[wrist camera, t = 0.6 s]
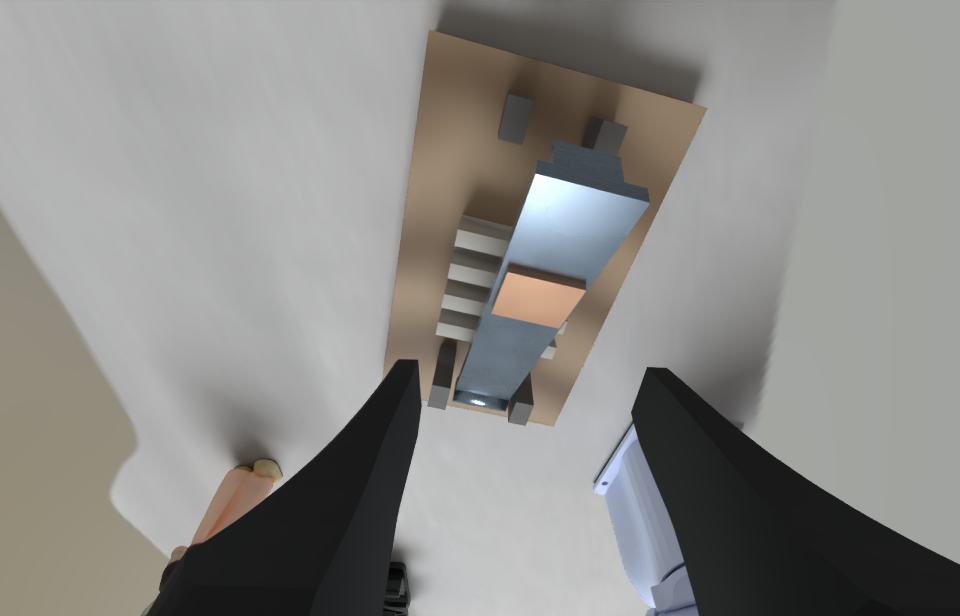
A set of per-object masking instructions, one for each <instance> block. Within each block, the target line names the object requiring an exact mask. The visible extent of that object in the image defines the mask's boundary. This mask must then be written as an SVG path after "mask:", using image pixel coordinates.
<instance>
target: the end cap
mask: <svg viewBox="0 0 960 616" xmlns="http://www.w3.org/2000/svg"><path fill="white" fill-rule="evenodd" d="M409 606H410V595H409V588H408V581H407V573H406V566H405V564H403V563H400V562H390V566H389V573H388V580H387V586H386V593H385V600H384V607H383V614H382V616H408V607H409Z"/></svg>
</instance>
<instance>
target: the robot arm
mask: <svg viewBox="0 0 960 616" xmlns="http://www.w3.org/2000/svg"><path fill="white" fill-rule="evenodd" d="M421 407H422V404H421V390H420V377H419V363H418V360H415V359H398V360H397V361H396V362H395V363H394V365H393V366H392V368H391V369H390V371H389V372H388V374H387V375H386V377H385V378H384V379H383V381H382V382H381V383H380V385H379V386H378V388H377V389H376V390H375V391H374V393H373V394H372V395H371V396H370V398H369V399H368V400H367V402H366V403H365V404H364V405H363V407H362V408H361V409H360V410H359V411H358V412H357V414H356V415H355V416H354V417H353V418H352V419H351V420H350V421H349V423H348V424H347V425H346V426H345V427H344V428H343V429H342V430H341V432H340V433H339V434H338V435H337V436H336V437H335V438H334V439H333V440H332V441H331V442H330V443H329V444H328V445H327V446H326V447H325V448H324V449H323V450H322V451H321V452H320V453H319V454H318V455H317V456H315V457H314V458H313V459H312V460H311V461H310V462H309V463H308V464H307V465H305V466H304V467H303V468H302V469H301V470H300V471H299V472H298V473H296V474H295V475H294V476H293V477H292V478H291V479H289V480H288V481H287V482H286V483H285V484H283V485H282V486H281V487H280V488H278V489H277V490H276V491H275V492H273V493H272V494H271V495H269V496H268V497H267V498H265V499H264V500H263V501H262V502H260V503H259V504H258V505H256V506H255V507H254V508H252V509H251V510H250V511H248V512H247V513H246V514H244V515H243V516H242V517H240V518H239V519H237V520H236V521H235V522H233V523H232V524H230V525H229V526H227V527H226V528H224V529H223V530H221V531H220V532H218V533H217V534H215V535H214V536H212V537H211V538H209V539H208V540H206V541H205V542H203V543H202V544H200V545H199V546H197V547H196V548H194V549H193V550H191V551H189V552H188V553H186V555H185V556H184V558H183V559H182V560H181V562H180V563H179V565H178V566H177V567H176V569H175V570H174V571H173V573H172V574H171V576H170V577H169V579H168V580H167V582H166V583H165V585H164V587H163V588H162V590H161V591H160V593H159V595H158V596H157V598H156V600H155V601H154V603H153V604H152V606H151V608H150V609H149V611H148V613H147V614H146V616H382V614H383V607H384V600H385V593H386V586H387V580H388V573H389V566H390V560H391V553H392V547H393V541H394V534H395V528H396V522H397V517H398V512H399V507H400V503H401V499H402V495H403V491H404V487H405V483H406V479H407V476H408V472H409V468H410V464H411V460H412V456H413V452H414V448H415V444H416V440H417V436H418V429H419V422H420V414H421ZM631 414H632V418H633V422H634V423H633V425H632V426H631V428H630V429H629V431H628V432H627V434H626V436H625V437H624V439H623V440H622V442H621V443H620V445H619V447H618V448H617V450H616V451H615V453H614V454H613V456H612V457H611V459H610V461H609V462H608V464H607V465H606V467H605V468H604V470H603V472H602V473H601V475H600V476H599V478H598V479H597V481H596V483H595V484H594V486H593V490H594V492H595V493H596V494H600V495H605V498H606V502H607V506H608V510H609V514H610V518H611V522H612V525H613V529H614V533H615V537H616V541H617V545H618V548H619V552H620V556H621V560H622V564H623V567H624V570H625V573H626V575H627V577H628V579H629V581H630V583H631V584H632V586H633V588H634V589H635V591H636V592H637V593H638V595H639V596H640V597H641V598H642V599H643V601H644V602H645V603H646V604H648V605H649V606H650V607H651V609H649V610H648V611H647V613H646V615H645V616H960V564H958V563H955V562H953V561H952V560H950V559H947V558H945V557H943V556H941V555H939V554H937V553H935V552H933V551H931V550H929V549H927V548H925V547H923V546H921V545H919V544H917V543H915V542H914V541H912V540H910V539H908V538H906V537H904V536H902V535H901V534H899V533H897V532H895V531H893V530H892V529H890V528H888V527H886V526H884V525H882V524H881V523H879V522H877V521H875V520H873V519H872V518H870V517H868V516H866V515H865V514H863V513H861V512H860V511H858V510H856V509H854V508H852V507H851V506H849V505H848V504H846V503H844V502H843V501H841V500H839V499H838V498H836V497H835V496H833V495H831V494H830V493H828V492H826V491H825V490H823V489H821V488H820V487H818V486H817V485H815V484H814V483H812V482H811V481H809V480H807V479H806V478H804V477H803V476H802V475H800V474H799V473H797V472H796V471H794V470H793V469H791V468H790V467H789V466H787V465H785V464H784V463H783V462H781V461H780V460H778V459H776V458H775V457H774V456H773V455H771V454H770V453H768V452H767V451H766V450H765V449H763V448H762V447H761V446H759V445H758V444H757V443H756V442H754V441H753V440H752V439H750V438H749V437H748V436H747V435H745V434H744V433H743V432H742V431H741V430H739V429H738V428H736V427H735V426H734V425H733V424H732V423H730V422H729V421H728V420H727V419H726V418H724V417H723V416H722V415H721V414H720V413H718V412H717V411H716V410H715V409H714V408H713V407H711V406H710V405H709V404H708V403H707V402H706V401H704V400H703V399H702V398H701V397H700V396H699V395H698V394H697V393H695V392H694V391H693V390H692V389H691V388H690V387H689V386H687V385H686V384H685V383H684V382H683V381H682V380H681V379H679V378H678V377H677V376H676V375H675V374H674V373H672V372H671V371H670V370H669V369H667V368H655V367H647V369H646V372H645V375H644V378H643V381H642V383H641V386H640V389H639V392H638V395H637V397H636V400H635V403H634V406H633V409H632V411H631Z"/></svg>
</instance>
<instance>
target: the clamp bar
mask: <svg viewBox="0 0 960 616" xmlns="http://www.w3.org/2000/svg"><path fill="white" fill-rule="evenodd" d="M649 205H650V198H649V193H648V188H644V187H641V186H637V185H633V184H629V183H625V182H624V176H623V169H622V163H621V157H618V156H614V155H611V154H607V153H603V152H599V151H596V150H592V149H588V148H584V147H580V146H577V145H573V144H569V143H565V142H562V141H558V140H554V141H553V143H552V146H551V148H550V151H549V154H548V156H547V159H546V161H545V162H544V161H541V160H537V161H536V163H535V166H534V169H533V172H532V174H531V177H530V180H529V183H528V186H527V188H526V191H525V194H524V197H523V199H522V202H521V205H520V208H519V210H518V213H517V216H516V219H515V222H514V224H513V227H512V230H511V233H510V235H509V238H508V241H507V244H506V246H505V249H504V252H503V255H502V258H501V260H500V263H499V266H498V269H497V271H496V274H495V277H494V280H493V282H492V285H491V288H490V291H489V294H488V296H487V299H486V302H485V305H484V307H483V310H482V313H481V316H480V318H479V321H478V324H477V327H476V329H475V332H474V335H473V338H472V341H471V343H470V346H469V349H468V352H467V354H466V357H465V360H464V363H463V365H462V368H461V371H460V374H459V377H457V379H456V383H455V387H454V392H453V398H452V402H457V403H462V404H467V405H472V406H477V407H482V408H486V409H491V410H496V411H501V412H505V411H506V409H507V407H508V403H509V400H510V398H511V397H512V396H513V394H514V393H515V391H516V390H517V389H518V387H519V386H520V384H521V383H522V382H523V380H524V379H525V377H526V376H527V375H528V373H529V372H530V370H531V369H532V368H533V366H534V365H535V364H536V362H537V361H538V359H539V358H540V357H541V355H542V354H543V352H544V351H545V350H546V348H547V347H548V345H549V344H550V343H551V341H552V340H553V338H554V337H555V336H556V334H557V333H558V331H559V330H560V329H561V327H562V326H563V324H564V323H565V322H566V320H567V319H568V317H569V316H570V315H571V313H572V312H573V311H574V309H575V308H576V306H577V305H578V304H579V302H580V301H581V299H582V298H583V297H584V295H585V294H586V292H587V291H588V290H589V288H590V287H591V285H592V284H593V283H594V281H595V280H596V278H597V277H598V276H599V274H600V273H601V271H602V270H603V269H604V267H605V266H606V265H607V263H608V262H609V260H610V259H611V258H612V256H613V255H614V253H615V252H616V251H617V249H618V248H619V246H620V245H621V244H622V242H623V241H624V239H625V238H626V237H627V235H628V234H629V232H630V231H631V230H632V228H633V227H634V225H635V224H636V223H637V221H638V220H639V218H640V217H641V216H642V214H643V213H644V212H645V210H646V209H647V207H648V206H649Z"/></svg>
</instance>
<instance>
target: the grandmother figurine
mask: <svg viewBox="0 0 960 616" xmlns="http://www.w3.org/2000/svg"><path fill="white" fill-rule="evenodd" d="M281 478H282V474H281V472H280V469H279V467H278V465H277V464H276V463H275V462H273V461H271V460H267V459H261V460H257V461H256V462H255V464H254V471H253V470H252V469H251V468H248V467H245V466H239V467H236V468H234V469H233V470H230V471H228V473H227V474H226V476H225V478H224V479H223V481H222V482H221V484H220V486H219V488H218V490H217V492H216V494H215V496H214V498H213V499H212V501H211V503H210V505H209V508H208V510H207V512H206V514H205V516H204V518H203V520H202V522H201V523H200V525H199V527H198V529H197V531H196V533H195V535H194V538H193V540H192V543H191V545H190V547H188V548H187V547H185V546H179V547H177V548H176V549H174V551H173V552H172V554H171V559H170V561H169V563H168V565H167V567H166V568H165V570H164V572H163V575H162V579H161V583H160V587H159V591H161V590H162V588H163V587H164V585H165V583H166V582H167V580H168V579H169V577H170V576H171V574H172V573H173V571H174V570H175V569H176V567H177V566H178V565H179V563H180V562H181V560H182V559H183V558H184V556H185V555H186V553H188V552H189V551H191V550H193V549H194V548H196V547H197V546H199V545H200V544H202V543H203V542H205V541H206V540H208V539H209V538H211V537H212V536H214V535H215V534H217V533H218V532H220V531H221V530H223V529H224V528H226V527H227V526H229V525H230V524H232V523H233V522H235V521H236V520H237V519H239V518H240V517H242V516H243V515H244V514H246V513H247V512H248V511H250V510H251V509H252V508H254V507H255V506H256V505H258V504H259V503H260V502H262V501H263V500H264V499H265V498H266V497H267V496H268V494H269V493H270V491H271V489H272V488H273V483H276V482H278V481H279V480H280V479H281ZM153 603H154V601H153V602H152V603H151V604H150V605H149V606H148V607H147V608H146V609H145V610H144V611H143V613H142V614H141V616H146V614H147V613H148V611H149V609H150V608H151V606H152V604H153Z"/></svg>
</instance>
